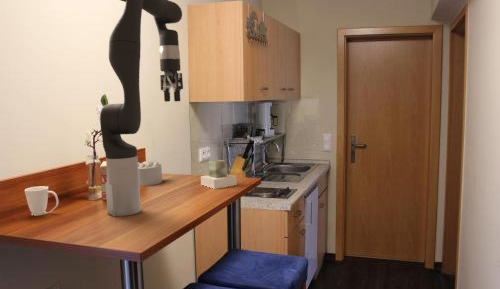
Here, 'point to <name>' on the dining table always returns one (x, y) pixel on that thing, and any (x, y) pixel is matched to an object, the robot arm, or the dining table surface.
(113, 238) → the dining table surface
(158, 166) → the lumpy-topped squat cylinder
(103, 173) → the stack of blocks
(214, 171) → the sage block
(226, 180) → the base block
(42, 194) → the cup
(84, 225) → the dining table surface
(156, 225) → the dining table surface
